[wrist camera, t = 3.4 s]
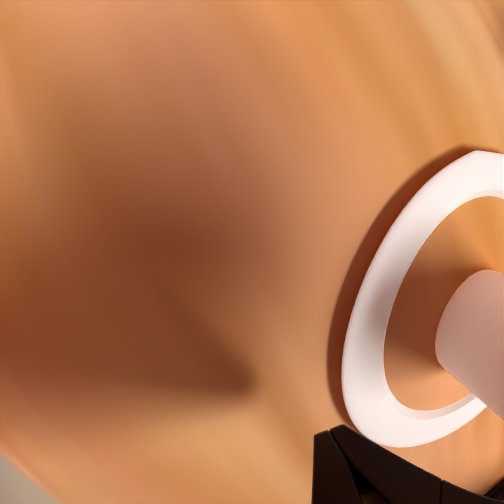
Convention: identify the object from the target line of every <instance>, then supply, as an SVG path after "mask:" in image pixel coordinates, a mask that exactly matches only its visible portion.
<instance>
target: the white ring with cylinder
mask: <svg viewBox="0 0 504 504" xmlns="http://www.w3.org/2000/svg"><path fill="white" fill-rule="evenodd" d="M481 196H495V197H499V198H502V199H504V154H500V153H493V152H486V151H479V150H475V151H472V152H470V153H468V154H466V155H464V156H462V157H461V158H459V159H457V160H455V161H454V162H452V163H450V164H449V165H447V166H446V167H445V168H443V169H442V170H440V171H439V172H438V173H437V174H435V175H434V176H433V177H432V178H431V179H429V180H428V181H427V182H426V183H425V184H424V185H423V186H422V187H421V188H420V189H419V190H418V192H417V193H416V194H415V195H414V196H413V197H412V198H411V200H410V201H409V202H408V203H407V205H406V206H405V207H404V209H403V210H402V211H401V213H400V214H399V216H398V217H397V218H396V220H395V221H394V223H393V224H392V226H391V228H390V229H389V231H388V232H387V234H386V236H385V237H384V239H383V241H382V243H381V244H380V246H379V248H378V250H377V252H376V254H375V256H374V258H373V260H372V262H371V264H370V266H369V268H368V270H367V273H366V275H365V277H364V280H363V282H362V285H361V287H360V290H359V292H358V295H357V298H356V301H355V304H354V307H353V310H352V313H351V317H350V320H349V324H348V328H347V333H346V337H345V343H344V349H343V356H342V371H341V379H342V392H343V398H344V402H345V406H346V409H347V412H348V414H349V416H350V418H351V420H352V422H353V424H354V425H355V426H356V428H357V429H358V430H359V431H360V432H361V433H362V434H363V435H364V436H365V437H367V438H368V439H370V440H372V441H374V442H376V443H378V444H381V445H385V446H389V447H412V446H418V445H422V444H426V443H429V442H432V441H435V440H437V439H439V438H442V437H444V436H446V435H448V434H450V433H452V432H453V431H455V430H457V429H458V428H460V427H461V426H463V425H464V424H466V423H467V422H469V421H470V420H471V419H473V418H474V417H475V416H476V415H477V414H479V413H480V412H481V411H482V410H483V409H484V408H485V407H486V406H488V407H489V408H490V409H491V410H492V411H494V412H495V413H496V414H497V415H498V416H500V417H501V418H502V419H503V420H504V274H503V273H500V272H498V271H494V270H481V271H478V272H476V273H474V274H472V275H471V276H469V277H468V278H467V279H466V280H465V281H464V282H463V283H462V284H461V285H460V286H459V287H458V288H457V290H456V291H455V292H454V294H453V296H452V297H451V299H450V300H449V302H448V304H447V305H446V307H445V309H444V312H443V314H442V317H441V319H440V322H439V325H438V328H437V333H436V339H435V352H436V357H437V360H438V362H439V364H440V365H441V366H442V367H443V368H444V369H445V370H446V371H447V372H448V373H449V374H450V375H451V376H453V377H454V378H455V379H456V380H457V381H459V382H460V383H461V384H462V385H463V386H464V387H466V388H467V389H468V390H469V391H470V392H471V393H469V394H468V395H467V396H465V397H464V398H462V399H460V400H459V401H457V402H455V403H453V404H451V405H449V406H446V407H443V408H440V409H436V410H431V411H418V410H413V409H410V408H407V407H405V406H404V405H402V404H401V403H399V402H398V401H397V400H396V399H395V397H394V396H393V395H392V393H391V391H390V389H389V387H388V384H387V381H386V378H385V372H384V359H383V358H384V343H385V336H386V330H387V325H388V321H389V317H390V314H391V310H392V307H393V304H394V301H395V298H396V296H397V293H398V291H399V288H400V286H401V283H402V281H403V279H404V277H405V275H406V273H407V271H408V269H409V267H410V265H411V263H412V261H413V260H414V258H415V256H416V254H417V253H418V251H419V250H420V248H421V246H422V245H423V243H424V242H425V241H426V239H427V238H428V236H429V235H430V234H431V233H432V231H433V230H434V229H435V228H436V227H437V225H438V224H439V223H440V222H441V221H442V220H443V219H444V218H445V217H446V216H447V215H448V214H449V213H451V212H452V211H453V210H454V209H456V208H457V207H459V206H460V205H462V204H463V203H465V202H467V201H469V200H471V199H474V198H477V197H481Z"/></svg>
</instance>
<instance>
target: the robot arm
mask: <svg viewBox="0 0 504 504" xmlns="http://www.w3.org/2000/svg"><path fill="white" fill-rule="evenodd" d="M311 504H504V481H503V482H502V483H501V484H500V485H498V486H497V487H496V488H495V489H493V490H492V491H491V492H490V493H488V494H487V495H486V496H482V495H479V494H476V493H472V492H470V491H467V490H465V489H462V488H460V487H458V486H455V485H453V484H451V483H449V482H447V481H445V480H442V481H441V478H439V477H437V476H435V475H433V474H431V473H429V472H427V471H425V470H423V469H421V468H419V467H417V466H416V465H414V464H412V463H410V462H408V461H406V460H404V459H403V458H401V457H399V456H397V455H395V454H394V453H392V452H390V451H388V450H386V449H385V448H383V447H381V446H380V445H378V444H376V443H374V442H373V441H371V440H369V439H368V438H366V437H364V436H363V435H361V434H359V433H358V432H356V431H354V430H353V429H351V428H349V427H348V426H346V425H343V424H342V425H339V426H336V427H334V428H331V429H330V430H329V431H328V430H326V431H323V432H320V433H317V434H315V435H314V447H313V480H312V502H311Z"/></svg>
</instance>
